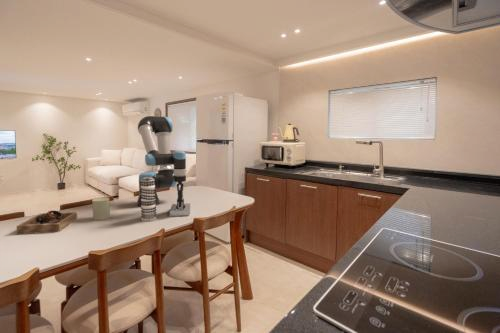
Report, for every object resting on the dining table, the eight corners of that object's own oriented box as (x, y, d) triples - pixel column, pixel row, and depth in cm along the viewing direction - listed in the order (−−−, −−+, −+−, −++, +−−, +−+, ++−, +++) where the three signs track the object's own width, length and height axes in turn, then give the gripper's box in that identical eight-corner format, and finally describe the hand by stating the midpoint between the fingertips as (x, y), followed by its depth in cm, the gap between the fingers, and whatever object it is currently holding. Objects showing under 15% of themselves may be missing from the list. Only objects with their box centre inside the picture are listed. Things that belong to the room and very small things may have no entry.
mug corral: (17, 233, 133) (16, 226, 132) (41, 220, 153) (40, 213, 153) (59, 231, 136) (59, 224, 136) (77, 218, 157) (76, 212, 156)
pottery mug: (53, 220, 154) (59, 209, 154) (60, 230, 150) (67, 218, 150) (29, 221, 144) (36, 208, 143) (36, 232, 140) (43, 219, 139)
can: (113, 216, 162) (112, 197, 160) (101, 221, 153) (99, 200, 152) (102, 214, 165) (101, 196, 163) (89, 219, 156) (87, 199, 155)
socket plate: (169, 216, 163) (169, 210, 163) (172, 209, 179) (172, 203, 178) (189, 215, 165) (189, 209, 165) (190, 208, 181) (190, 203, 181)
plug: (177, 212, 170) (176, 199, 168) (177, 210, 174) (177, 197, 173) (183, 211, 170) (183, 199, 169) (184, 209, 174) (183, 197, 173)
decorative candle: (140, 216, 161) (139, 176, 158) (156, 215, 165) (155, 176, 162) (140, 221, 153) (138, 179, 150) (157, 220, 156) (155, 178, 153)
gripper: (185, 177, 161) (186, 214, 164) (186, 173, 178) (187, 206, 181) (172, 177, 160) (173, 214, 163) (174, 173, 177) (175, 207, 180)
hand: (180, 210), depth 172 cm, fingers closed on plug, 4 cm apart
